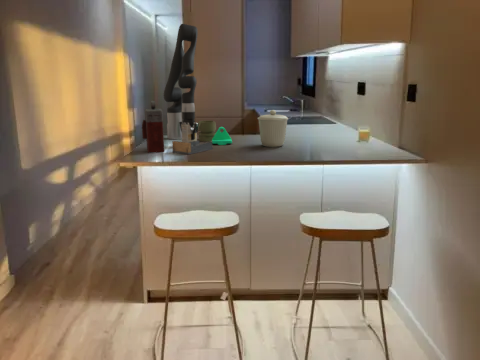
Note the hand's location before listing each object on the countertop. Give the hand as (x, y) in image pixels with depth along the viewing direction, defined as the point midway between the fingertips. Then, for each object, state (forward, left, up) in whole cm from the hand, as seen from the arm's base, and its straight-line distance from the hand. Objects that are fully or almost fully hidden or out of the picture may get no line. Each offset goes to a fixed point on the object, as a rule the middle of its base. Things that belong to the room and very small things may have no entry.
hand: (189, 139), depth 273 cm
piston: (-6, +23, -4) cm, 24 cm away
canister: (+41, +28, -4) cm, 50 cm away
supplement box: (0, 0, -4) cm, 4 cm away
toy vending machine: (-4, -25, -4) cm, 26 cm away
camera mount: (+11, +17, -4) cm, 21 cm away
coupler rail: (+13, -11, -4) cm, 17 cm away
